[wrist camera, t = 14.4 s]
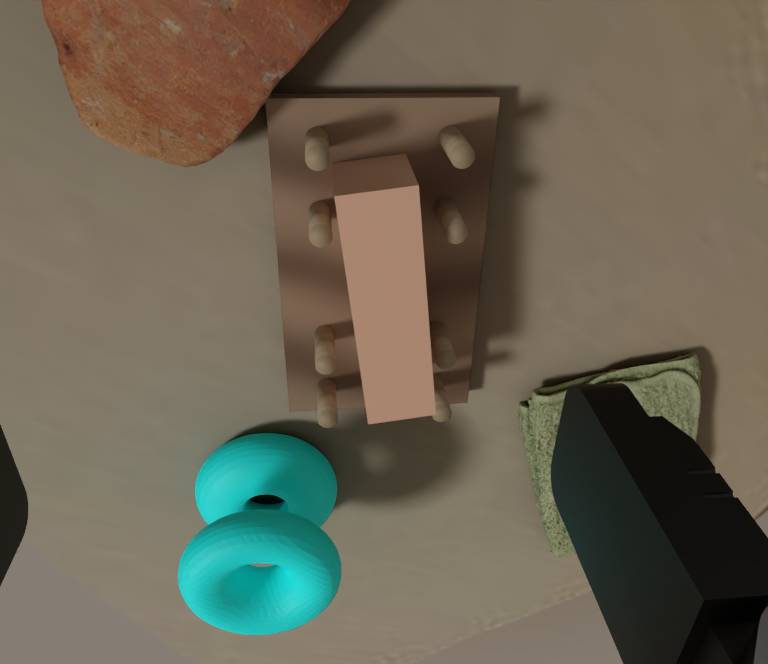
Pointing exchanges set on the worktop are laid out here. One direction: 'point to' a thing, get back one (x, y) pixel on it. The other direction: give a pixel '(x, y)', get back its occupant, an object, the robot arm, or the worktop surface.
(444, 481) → the worktop surface
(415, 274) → the pinkish tan rectangular block
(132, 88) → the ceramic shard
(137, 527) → the worktop surface
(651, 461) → the robot arm
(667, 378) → the washcloth
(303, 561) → the donuts
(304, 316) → the drying rack
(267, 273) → the worktop surface
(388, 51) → the worktop surface
